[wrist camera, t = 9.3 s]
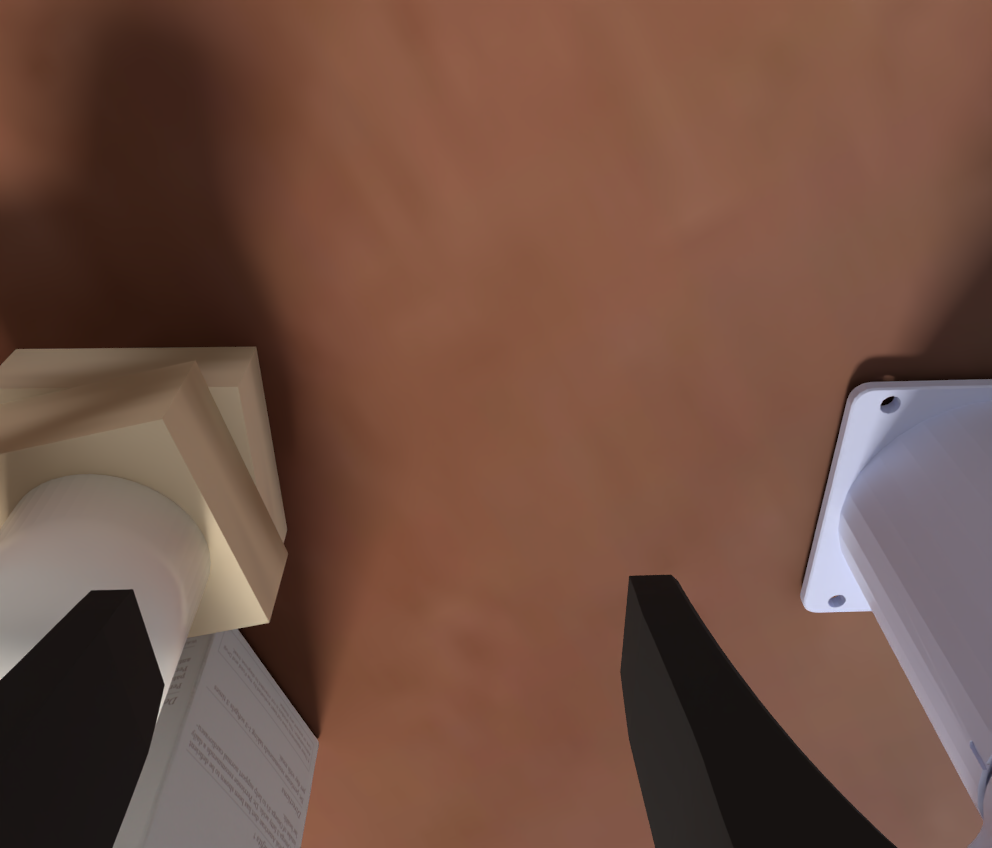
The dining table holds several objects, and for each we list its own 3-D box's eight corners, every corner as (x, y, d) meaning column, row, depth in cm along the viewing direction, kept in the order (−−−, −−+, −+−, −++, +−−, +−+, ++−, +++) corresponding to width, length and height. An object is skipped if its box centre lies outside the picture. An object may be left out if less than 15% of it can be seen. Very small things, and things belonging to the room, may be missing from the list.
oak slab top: (195, 360, 20) (162, 419, 18) (288, 553, 23) (269, 623, 21) (-43, 413, 21) (-102, 475, 18) (79, 594, 24) (41, 665, 22)
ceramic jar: (195, 476, 19) (126, 634, 15) (222, 622, 21) (168, 790, 17) (-16, 471, 18) (-140, 631, 15) (35, 619, 21) (-61, 789, 17)
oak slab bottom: (260, 337, 22) (238, 386, 20) (290, 518, 26) (273, 577, 24) (25, 338, 22) (-22, 388, 20) (85, 521, 26) (50, 580, 23)
